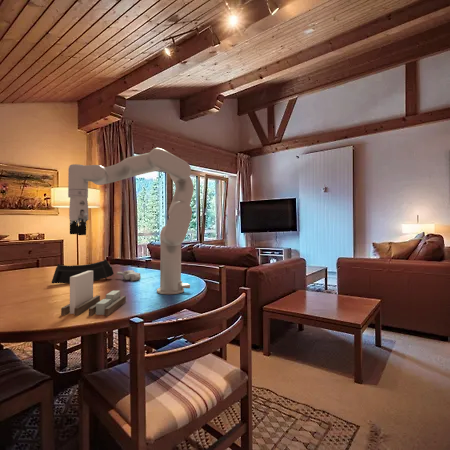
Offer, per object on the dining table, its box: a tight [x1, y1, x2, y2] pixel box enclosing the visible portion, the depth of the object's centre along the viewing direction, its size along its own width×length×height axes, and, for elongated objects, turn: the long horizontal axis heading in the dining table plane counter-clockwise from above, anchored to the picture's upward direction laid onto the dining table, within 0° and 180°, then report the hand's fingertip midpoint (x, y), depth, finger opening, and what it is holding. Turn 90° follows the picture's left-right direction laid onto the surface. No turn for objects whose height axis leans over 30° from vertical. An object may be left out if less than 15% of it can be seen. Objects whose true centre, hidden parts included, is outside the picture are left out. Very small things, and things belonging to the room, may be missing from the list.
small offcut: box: [95, 298, 111, 316], centre depth 108 cm, size 3×6×4 cm, turn 0°
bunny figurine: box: [116, 269, 142, 282], centre depth 168 cm, size 10×5×15 cm
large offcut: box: [105, 290, 121, 304], centre depth 117 cm, size 3×7×5 cm, turn 0°
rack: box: [60, 295, 127, 317], centre depth 112 cm, size 16×18×2 cm
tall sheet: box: [69, 271, 94, 315], centre depth 112 cm, size 2×14×13 cm, turn 0°
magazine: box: [51, 258, 114, 285], centre depth 160 cm, size 17×3×30 cm
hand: (77, 234), depth 127 cm, fingers open, 9 cm apart
